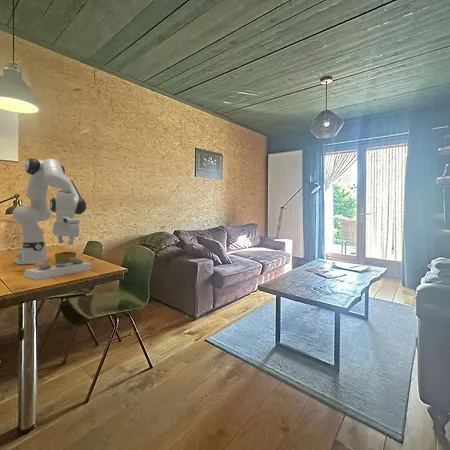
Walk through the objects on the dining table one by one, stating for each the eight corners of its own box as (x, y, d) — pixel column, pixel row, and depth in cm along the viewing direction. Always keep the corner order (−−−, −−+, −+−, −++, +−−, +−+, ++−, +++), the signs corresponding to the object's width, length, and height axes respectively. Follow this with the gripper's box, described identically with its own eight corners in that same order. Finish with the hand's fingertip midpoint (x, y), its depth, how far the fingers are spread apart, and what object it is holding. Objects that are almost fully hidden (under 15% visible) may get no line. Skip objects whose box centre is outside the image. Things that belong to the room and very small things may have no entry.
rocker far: (68, 259, 159) (68, 257, 159) (75, 258, 163) (75, 257, 163) (76, 264, 155) (76, 262, 155) (82, 262, 159) (82, 261, 159)
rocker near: (35, 264, 144) (35, 262, 143) (43, 263, 147) (43, 261, 147) (42, 269, 140) (42, 267, 140) (50, 268, 143) (50, 266, 143)
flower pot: (66, 268, 165) (66, 254, 164) (54, 267, 166) (54, 253, 166) (76, 265, 173) (76, 252, 173) (65, 265, 175) (65, 251, 175)
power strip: (25, 277, 141) (24, 269, 141) (84, 266, 170) (84, 259, 170) (36, 280, 135) (36, 271, 135) (96, 268, 165) (96, 261, 164)
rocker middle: (52, 265, 151) (52, 263, 151) (60, 264, 155) (59, 262, 155) (60, 263, 147) (60, 261, 148) (67, 262, 151) (67, 260, 151)
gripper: (49, 219, 150) (49, 243, 150) (69, 220, 140) (70, 245, 140) (61, 218, 155) (61, 242, 156) (81, 219, 145) (81, 244, 146)
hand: (65, 244), depth 148 cm, fingers open, 8 cm apart
